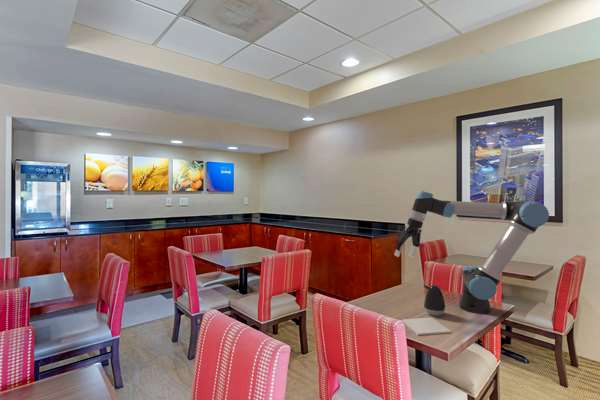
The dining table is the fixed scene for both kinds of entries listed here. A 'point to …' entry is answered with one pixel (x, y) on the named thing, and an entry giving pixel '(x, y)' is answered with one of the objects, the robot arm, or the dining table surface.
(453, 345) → the dining table surface
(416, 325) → the ceramic tile
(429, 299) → the pump dispenser
